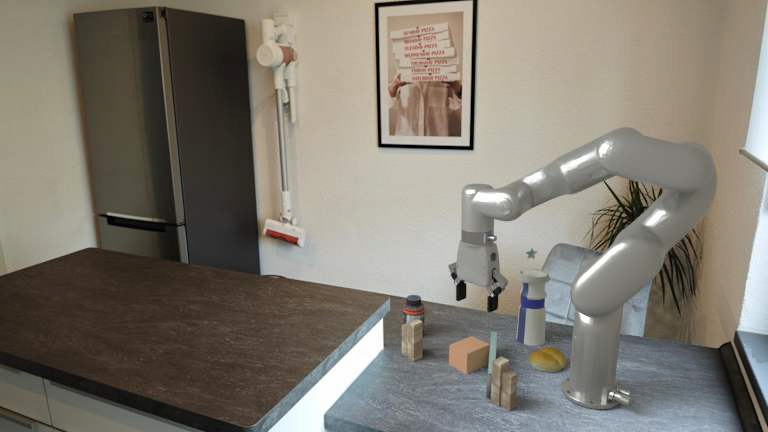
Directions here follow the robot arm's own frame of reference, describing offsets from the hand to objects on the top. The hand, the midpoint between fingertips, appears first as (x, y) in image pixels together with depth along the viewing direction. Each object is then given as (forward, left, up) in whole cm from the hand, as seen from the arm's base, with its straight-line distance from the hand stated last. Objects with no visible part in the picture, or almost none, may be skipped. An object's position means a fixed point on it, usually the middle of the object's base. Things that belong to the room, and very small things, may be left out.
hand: (476, 305), depth 129 cm
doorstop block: (+1, +1, -16) cm, 16 cm away
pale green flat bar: (-5, 0, -16) cm, 16 cm away
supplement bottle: (+22, -1, -16) cm, 28 cm away
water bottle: (-1, -23, -16) cm, 28 cm away
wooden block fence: (-1, +8, -16) cm, 18 cm away
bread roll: (-12, -14, -17) cm, 25 cm away
